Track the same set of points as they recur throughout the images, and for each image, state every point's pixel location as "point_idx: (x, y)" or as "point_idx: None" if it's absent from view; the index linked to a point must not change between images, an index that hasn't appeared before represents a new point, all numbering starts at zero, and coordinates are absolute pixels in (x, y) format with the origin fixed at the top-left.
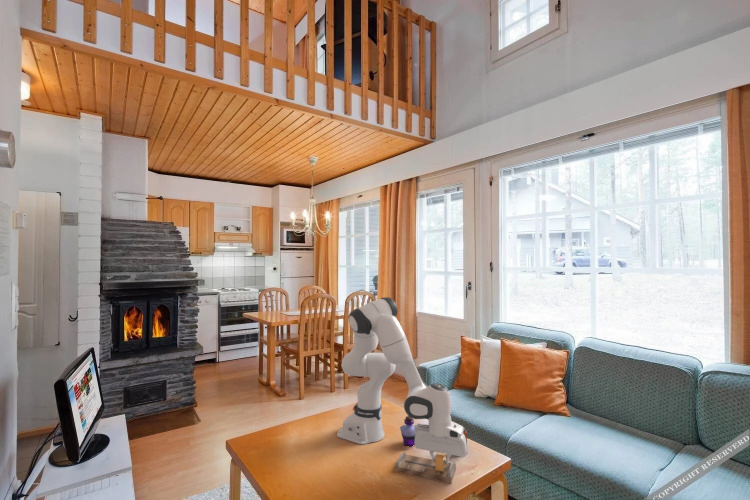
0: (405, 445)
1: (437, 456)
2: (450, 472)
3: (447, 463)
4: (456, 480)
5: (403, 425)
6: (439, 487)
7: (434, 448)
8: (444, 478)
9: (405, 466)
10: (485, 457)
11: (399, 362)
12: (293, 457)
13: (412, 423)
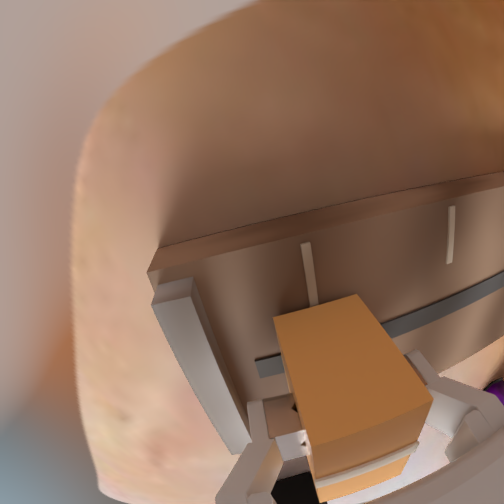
0: (498, 380)
1: (403, 425)
2: (173, 326)
3: (249, 413)
4: (147, 312)
5: None
6: (229, 118)
7: (492, 488)
8: (224, 244)
9: None
10: (161, 495)
11: None
12: None
13: None
